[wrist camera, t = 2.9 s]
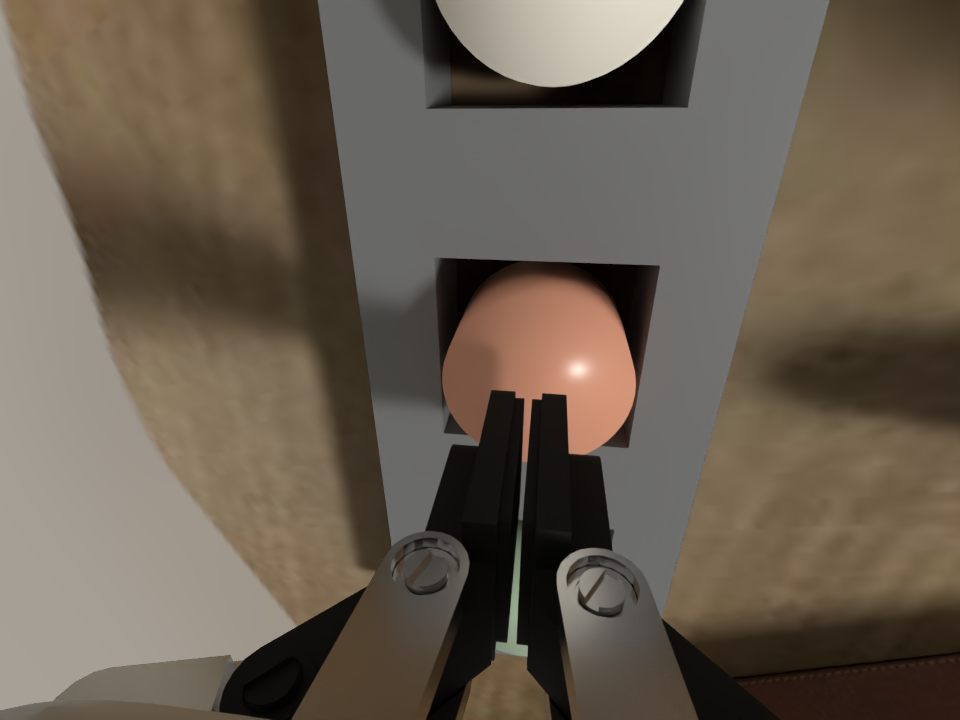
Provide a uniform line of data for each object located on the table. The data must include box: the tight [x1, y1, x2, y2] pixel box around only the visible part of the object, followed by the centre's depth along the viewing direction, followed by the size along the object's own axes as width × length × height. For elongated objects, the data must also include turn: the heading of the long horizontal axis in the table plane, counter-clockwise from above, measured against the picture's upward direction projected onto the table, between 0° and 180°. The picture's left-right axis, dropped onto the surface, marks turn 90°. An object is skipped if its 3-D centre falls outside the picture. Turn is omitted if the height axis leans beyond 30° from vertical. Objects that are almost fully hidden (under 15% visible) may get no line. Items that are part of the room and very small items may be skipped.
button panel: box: [318, 0, 830, 657], centre depth 15 cm, size 28×10×3 cm, turn 0°
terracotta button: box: [442, 261, 636, 462], centre depth 14 cm, size 5×5×3 cm
